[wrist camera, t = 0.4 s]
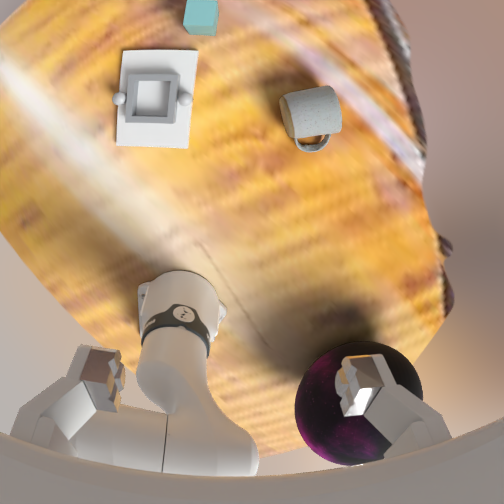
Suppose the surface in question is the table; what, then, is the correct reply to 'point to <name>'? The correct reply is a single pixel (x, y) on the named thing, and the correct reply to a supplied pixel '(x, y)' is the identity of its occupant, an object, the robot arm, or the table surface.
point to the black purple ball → (330, 412)
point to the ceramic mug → (311, 115)
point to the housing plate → (156, 98)
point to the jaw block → (201, 17)
